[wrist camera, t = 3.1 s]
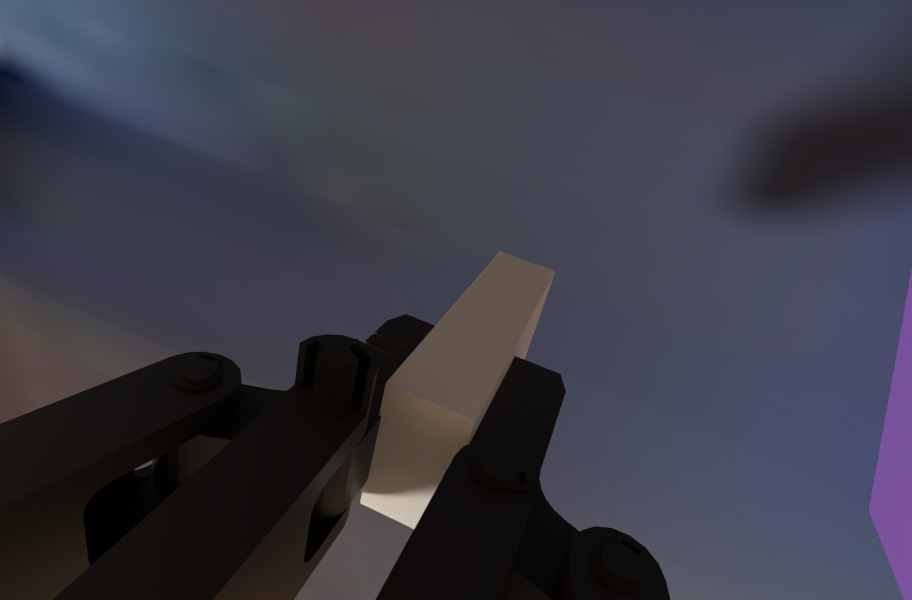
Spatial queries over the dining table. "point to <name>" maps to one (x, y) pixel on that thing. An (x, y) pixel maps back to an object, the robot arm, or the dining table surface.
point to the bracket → (897, 464)
